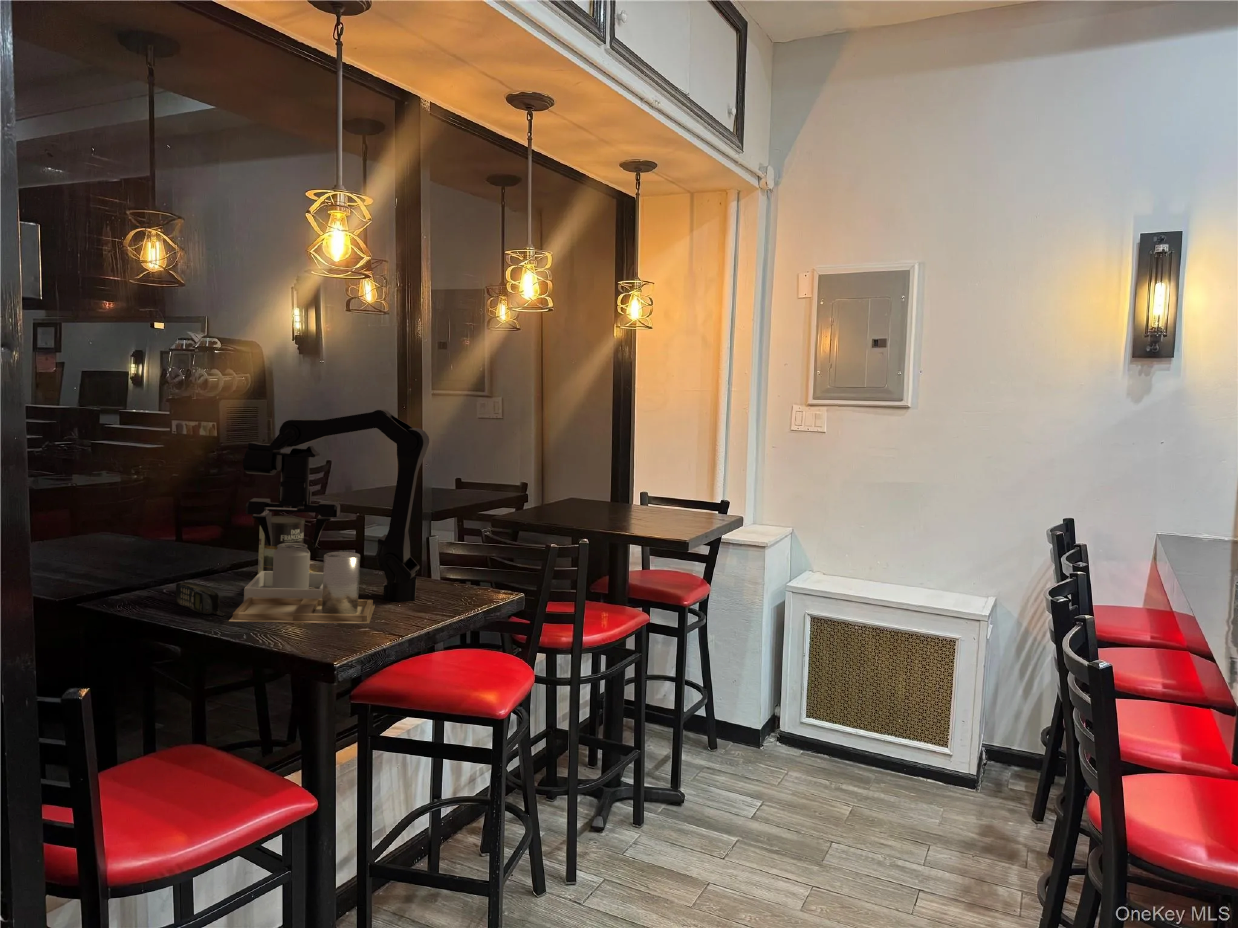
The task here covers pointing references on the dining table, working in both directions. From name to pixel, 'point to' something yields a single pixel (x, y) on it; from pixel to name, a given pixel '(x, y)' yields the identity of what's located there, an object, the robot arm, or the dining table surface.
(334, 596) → the steel billet
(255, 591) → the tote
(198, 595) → the mobile phone
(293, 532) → the coffee can
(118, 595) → the dining table surface
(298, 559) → the can
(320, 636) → the dining table surface
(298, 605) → the wooden divided tray
